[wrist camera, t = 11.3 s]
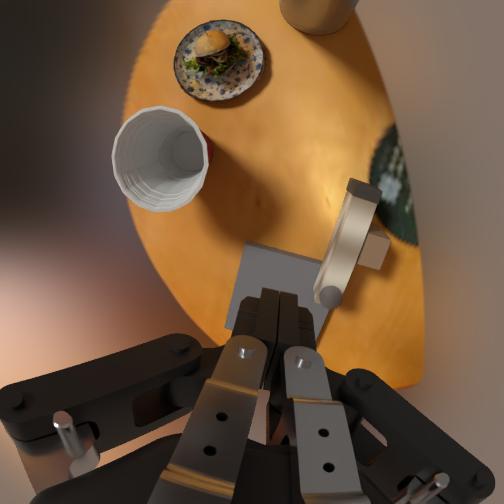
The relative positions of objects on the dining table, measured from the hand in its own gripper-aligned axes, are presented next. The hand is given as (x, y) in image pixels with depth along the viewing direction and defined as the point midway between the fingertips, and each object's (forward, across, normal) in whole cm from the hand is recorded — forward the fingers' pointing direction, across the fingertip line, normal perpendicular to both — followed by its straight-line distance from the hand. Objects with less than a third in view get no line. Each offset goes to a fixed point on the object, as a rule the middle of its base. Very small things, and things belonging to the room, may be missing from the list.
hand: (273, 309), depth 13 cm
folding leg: (+27, -9, +4) cm, 29 cm away
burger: (+30, +11, -16) cm, 35 cm away
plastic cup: (+29, +13, -3) cm, 32 cm away
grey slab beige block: (+29, -5, +12) cm, 32 cm away
